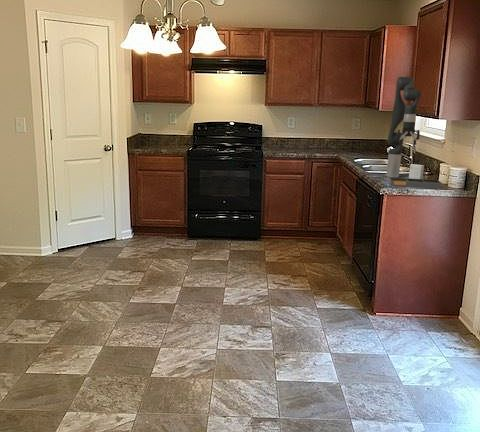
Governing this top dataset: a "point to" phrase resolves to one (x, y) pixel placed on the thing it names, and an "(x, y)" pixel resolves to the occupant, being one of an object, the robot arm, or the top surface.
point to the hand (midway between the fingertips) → (407, 145)
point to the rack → (415, 183)
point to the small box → (416, 171)
